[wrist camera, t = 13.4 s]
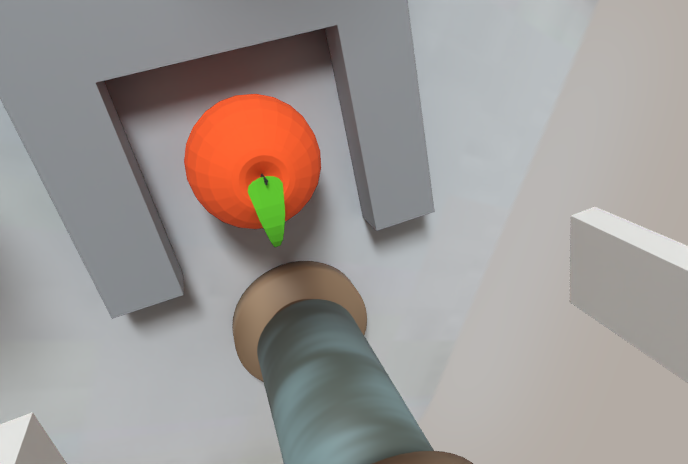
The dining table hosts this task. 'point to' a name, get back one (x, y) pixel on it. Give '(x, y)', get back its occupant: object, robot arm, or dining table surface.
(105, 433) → the dining table surface
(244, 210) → the clementine
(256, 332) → the bobbin
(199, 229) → the dining table surface
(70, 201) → the notched board
